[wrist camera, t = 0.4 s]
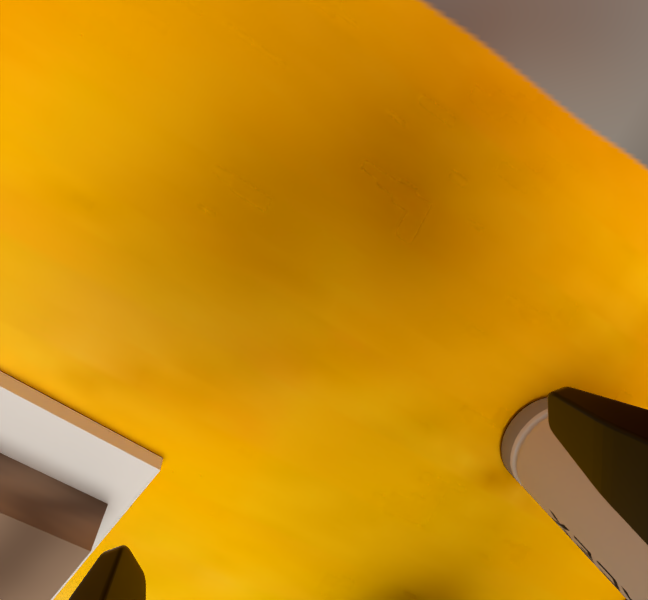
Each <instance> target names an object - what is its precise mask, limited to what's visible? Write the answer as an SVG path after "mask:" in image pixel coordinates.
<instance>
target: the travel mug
mask: <svg viewBox="0 0 648 600" xmlns="http://www.w3.org/2000/svg"><path fill="white" fill-rule="evenodd" d="M501 454H502V459H503V463H504V465H505V467H506V469H507V470H508V471H509V472H510V473H511V475H512V476H513V477H514V478H515V479H516V480H517V481H518V482H519V483H520V484H521V485H522V486H523V487H524V489H525V490H526V491H527V492H528V493H529V494H530V495H531V496H532V497H533V498H534V499H535V500H536V502H537V503H538V504H539V505H540V506H541V507H542V508H543V509H544V510H545V511H546V512H547V513H548V515H549V516H550V517H551V518H552V519H553V520H554V521H555V522H556V523H557V524H558V525H559V526H560V527H561V529H562V530H563V531H564V532H565V533H566V534H567V535H568V536H569V537H570V538H571V539H572V540H573V542H574V543H575V544H576V545H577V546H578V547H579V548H580V549H581V550H582V551H583V552H584V553H585V554H586V556H587V557H588V558H589V559H590V560H591V561H592V562H593V563H594V564H595V565H596V566H597V567H598V569H599V570H600V571H601V572H602V573H603V574H604V575H605V576H606V577H607V578H608V579H609V580H610V581H611V583H612V584H613V585H614V586H615V587H616V588H617V589H618V590H619V591H620V592H621V593H622V594H623V596H624V597H625V598H626V599H627V600H648V545H647V544H646V543H645V542H644V541H643V540H642V539H641V538H640V537H639V535H638V534H637V533H636V532H635V531H634V530H633V529H632V528H631V527H630V526H629V525H628V524H627V523H626V522H625V520H624V519H623V518H622V517H621V516H620V515H619V514H618V513H617V512H616V511H615V510H614V509H613V508H612V507H611V506H610V504H609V503H608V502H607V501H606V500H605V499H604V498H603V497H602V495H601V494H600V493H599V492H598V491H597V489H596V488H595V487H594V486H593V485H592V483H591V482H590V481H589V479H588V478H587V477H586V476H585V474H584V473H583V472H582V470H581V469H580V468H579V466H578V465H577V464H576V463H575V461H574V460H573V459H572V457H571V456H570V455H569V453H568V452H567V451H566V450H565V448H564V447H563V446H562V444H561V443H560V442H559V441H558V439H557V438H556V437H555V435H554V434H553V433H552V431H551V429H550V427H549V423H548V397H547V398H543V399H540V400H538V401H535V402H533V403H531V404H530V405H528V406H527V407H525V408H524V409H523V410H521V411H520V412H519V413H518V414H517V415H516V416H515V417H514V419H513V420H512V421H511V423H510V424H509V426H508V428H507V429H506V432H505V434H504V437H503V441H502V446H501Z"/></svg>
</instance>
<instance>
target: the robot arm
mask: <svg viewBox="0 0 648 600" xmlns="http://www.w3.org/2000/svg"><path fill="white" fill-rule="evenodd" d="M548 423H549V427H550V429H551V431H552V433H553V434H554V435H555V437H556V438H557V439H558V441H559V442H560V443H561V444H562V446H563V447H564V448H565V450H566V451H567V452H568V453H569V455H570V456H571V457H572V459H573V460H574V461H575V463H576V464H577V465H578V466H579V468H580V469H581V470H582V472H583V473H584V474H585V476H586V477H587V478H588V479H589V481H590V482H591V483H592V485H593V486H594V487H595V488H596V489H597V491H598V492H599V493H600V494H601V495H602V497H603V498H604V499H605V500H606V501H607V502H608V503H609V504H610V506H611V507H612V508H613V509H614V510H615V511H616V512H617V513H618V514H619V515H620V516H621V517H622V518H623V519H624V520H625V522H626V523H627V524H628V525H629V526H630V527H631V528H632V529H633V530H634V531H635V532H636V533H637V534H638V535H639V537H640V538H641V539H642V540H643V541H644V542H645V543H646V544H647V545H648V410H647V409H643V408H640V407H637V406H633V405H630V404H626V403H623V402H619V401H616V400H613V399H609V398H606V397H602V396H599V395H595V394H592V393H589V392H585V391H582V390H578V389H575V388H571V387H563V388H560V389H557V390H554V391H552V392H550V393H549V395H548ZM69 600H146V582H145V576H144V573H143V571H142V569H141V567H140V566H139V564H138V562H137V561H136V559H135V557H134V556H133V554H132V552H131V551H130V549H129V548H128V547H127V546H125V545H123V546H119V547H116V548H113V549H111V550H108V551H105V552H104V553H102V554H101V555H100V557H99V558H98V559H97V561H96V562H95V563H94V565H93V566H92V568H91V569H90V570H89V572H88V573H87V575H86V576H85V577H84V579H83V580H82V582H81V583H80V584H79V586H78V587H77V589H76V590H75V591H74V593H73V594H72V596H71V597H70V598H69Z"/></svg>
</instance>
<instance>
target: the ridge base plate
mask: <svg viewBox="0 0 648 600" xmlns="http://www.w3.org/2000/svg"><path fill="white" fill-rule="evenodd" d="M0 453H2V454H4V455H6V456H8V457H10V458H12V459H14V460H16V461H18V462H21V463H23V464H25V465H27V466H29V467H31V468H33V469H35V470H37V471H40V472H42V473H44V474H46V475H48V476H50V477H52V478H54V479H56V480H59V481H61V482H63V483H65V484H67V485H69V486H71V487H73V488H75V489H77V490H80V491H82V492H84V493H86V494H88V495H90V496H92V497H94V498H96V499H99V500H101V501H103V502H105V503H107V504H108V506H107V508H106V511H105V514H104V517H103V519H102V522H101V525H100V528H99V530H98V533H97V536H96V539H95V541H94V544H93V547H92V550H91V552H90V553H89V554H88V555H87V557H86V558H85V559H84V560H83V561H82V563H81V564H80V565H79V566H78V567H77V569H76V570H75V571H74V572H73V574H72V575H71V576H70V577H69V578H68V580H67V581H66V582H65V583H64V584H63V586H62V587H61V588H60V589H59V590H58V592H57V593H56V594H55V595H54V596H53V598H52V599H51V600H53V599H54V598H55V597H56V595H57V594H58V593H59V592H60V591H61V589H62V588H63V587H64V586H65V584H66V583H67V582H68V581H69V580H70V578H71V577H72V576H73V575H74V574H75V572H76V571H77V570H78V569H79V568H80V566H81V565H82V564H83V563H84V562H85V560H86V559H87V558H88V557H89V556H90V554H91V553H92V552H93V551H94V550H95V548H96V547H97V546H98V545H99V543H100V542H101V541H102V540H103V539H104V537H105V536H106V535H107V534H108V533H109V531H110V530H111V529H112V528H113V527H114V525H115V524H116V523H117V522H118V521H119V519H120V518H121V517H122V516H123V515H124V513H125V512H126V511H127V510H128V509H129V507H130V506H131V505H132V504H133V502H134V501H135V500H136V499H137V498H138V496H139V495H140V494H141V493H142V492H143V490H144V489H145V488H146V487H147V486H148V484H149V483H150V482H151V481H152V480H153V478H154V477H155V476H156V475H157V474H158V472H159V471H160V469H161V465H162V460H163V458H161V457H160V456H158V455H156V454H154V453H152V452H150V451H148V450H147V449H145V448H143V447H141V446H139V445H137V444H135V443H133V442H132V441H130V440H128V439H126V438H124V437H122V436H120V435H119V434H117V433H115V432H113V431H111V430H109V429H107V428H106V427H104V426H102V425H100V424H98V423H96V422H94V421H92V420H91V419H89V418H87V417H85V416H83V415H81V414H79V413H78V412H76V411H74V410H72V409H70V408H68V407H66V406H65V405H63V404H61V403H59V402H57V401H55V400H53V399H51V398H50V397H48V396H46V395H44V394H42V393H40V392H38V391H37V390H35V389H33V388H31V387H29V386H27V385H25V384H24V383H22V382H20V381H18V380H16V379H14V378H12V377H10V376H9V375H7V374H5V373H3V372H1V371H0Z"/></svg>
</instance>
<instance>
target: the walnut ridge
mask: <svg viewBox="0 0 648 600" xmlns="http://www.w3.org/2000/svg"><path fill="white" fill-rule="evenodd" d="M107 506H108V504H107V503H105V502H103V501H101V500H99V499H96V498H94V497H92V496H90V495H88V494H86V493H84V492H82V491H80V490H77V489H75V488H73V487H71V486H69V485H67V484H65V483H63V482H61V481H59V480H56V479H54V478H52V477H50V476H48V475H46V474H44V473H42V472H40V471H37V470H35V469H33V468H31V467H29V466H27V465H25V464H23V463H21V462H18V461H16V460H14V459H12V458H10V457H8V456H6V455H4V454H2V453H0V600H51V599H52V598H53V596H54V595H55V594H56V593H57V592H58V590H59V589H60V588H61V587H62V586H63V584H64V583H65V582H66V581H67V580H68V578H69V577H70V576H71V575H72V574H73V572H74V571H75V570H76V569H77V567H78V566H79V565H80V564H81V563H82V561H83V560H84V559H85V558H86V557H87V555H88V554H89V553H90V552H91V550H92V547H93V544H94V541H95V539H96V536H97V533H98V530H99V528H100V525H101V522H102V519H103V517H104V514H105V511H106V508H107Z"/></svg>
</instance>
